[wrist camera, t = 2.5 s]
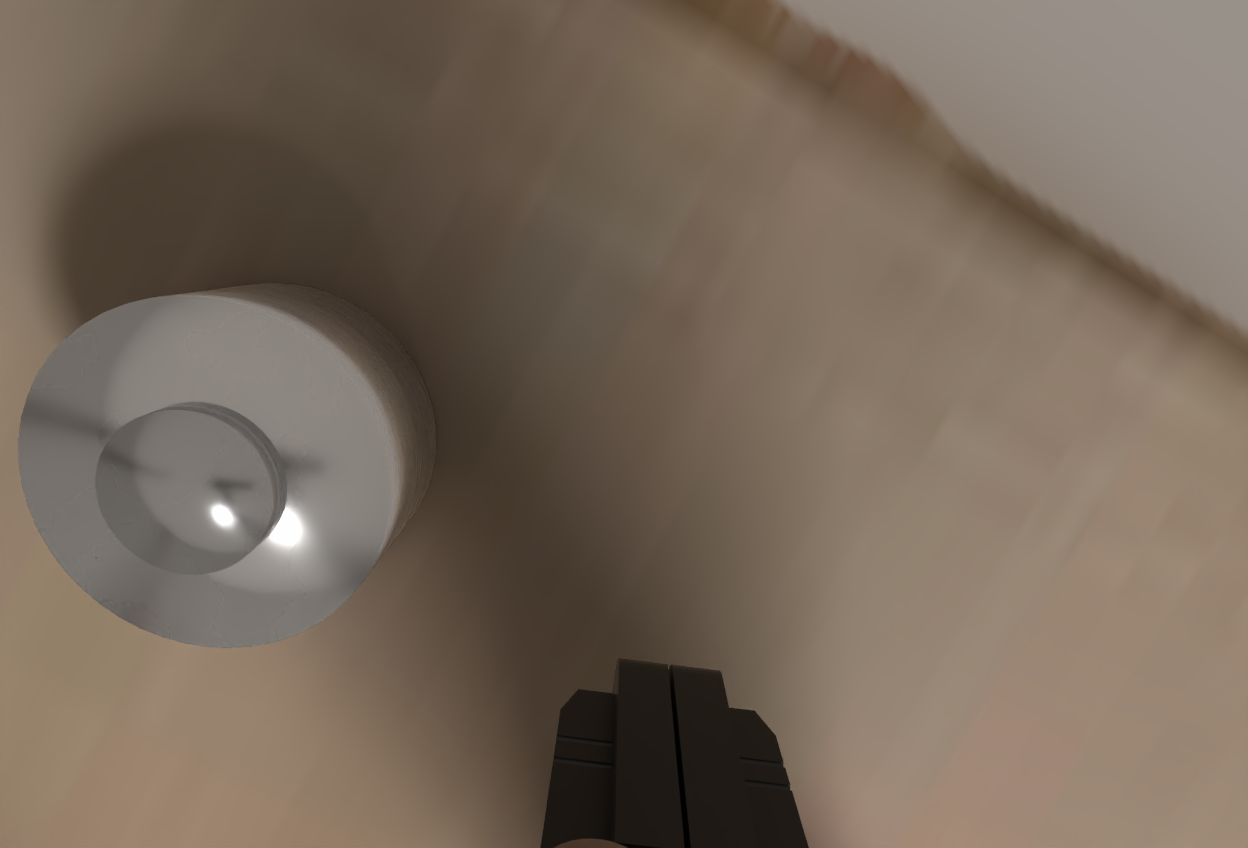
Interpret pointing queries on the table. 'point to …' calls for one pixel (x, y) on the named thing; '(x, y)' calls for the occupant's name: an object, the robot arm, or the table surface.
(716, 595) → the table surface
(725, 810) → the robot arm
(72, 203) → the table surface
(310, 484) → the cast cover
